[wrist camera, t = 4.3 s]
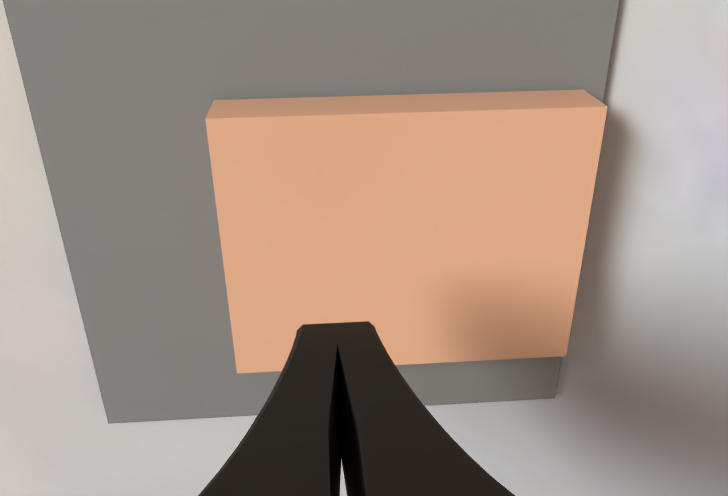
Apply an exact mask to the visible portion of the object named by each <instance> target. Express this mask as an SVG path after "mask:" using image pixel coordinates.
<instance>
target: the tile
mask: <svg viewBox="0 0 728 496" xmlns="http://www.w3.org/2000/svg"><path fill="white" fill-rule="evenodd" d="M607 108H608V106H606V105H605V104H603V103H602V102H601V101H599V100H598V99H596V98H595V97H593V96H592V95H591V94H589V93H588V92H586V91H585V90H584V89H582V90H547V91H512V92H477V93H442V94H407V95H372V96H337V97H302V98H267V99H232V100H214V101H213V103H212V105H211V107H210V110H209V112H208V114H207V116H206V118H205V121H206V129H207V137H208V145H209V153H210V161H211V169H212V177H213V185H214V193H215V201H216V209H217V217H218V225H219V233H220V241H221V249H222V257H223V265H224V273H225V281H226V289H227V297H228V305H229V313H230V321H231V329H232V338H233V346H234V354H235V362H236V370H237V373H256V372H274V371H282V370H283V368H284V366H285V363H286V361H287V359H288V356H289V354H290V351H291V349H292V346H293V343H294V340H295V337H296V332H297V329H299V328H300V327H301V326H302V325H303V324H323V323H343V322H363V321H369V322H370V323H371V324H372V325H374V326H375V329H376V331H377V334H378V336H379V338H380V340H381V342H382V344H383V346H384V347H385V349H386V351H387V353H388V354H389V356H390V358H391V359H392V361H393V363H394V364H395V365H407V364H425V363H444V362H463V361H482V360H501V359H520V358H539V357H558V356H566V355H567V349H568V343H569V337H570V331H571V325H572V319H573V313H574V306H575V300H576V294H577V288H578V282H579V276H580V270H581V264H582V258H583V252H584V246H585V240H586V234H587V228H588V222H589V216H590V210H591V204H592V198H593V192H594V186H595V180H596V174H597V168H598V162H599V156H600V150H601V144H602V138H603V132H604V126H605V120H606V114H607Z"/></svg>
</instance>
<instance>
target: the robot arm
mask: <svg viewBox="0 0 728 496" xmlns="http://www.w3.org/2000/svg"><path fill="white" fill-rule="evenodd" d="M341 459H342V465H343V471H344V478H345V484H346V491H347V496H515V495H514V494H512V493H511V492H510V491H509V490H507V489H506V488H505V487H504V486H502V485H501V484H500V483H499V482H497V481H496V480H495V479H494V478H493V477H491V476H490V475H489V474H488V473H487V472H486V471H485V470H484V469H483V468H482V467H481V466H480V465H478V464H477V463H476V462H475V461H474V460H473V459H472V458H471V457H470V456H469V455H468V454H467V453H466V452H465V451H464V450H463V449H462V448H461V447H460V446H459V445H458V444H457V443H456V442H455V441H454V440H453V439H452V438H451V437H450V436H449V434H448V433H447V432H446V431H445V430H444V429H443V428H442V427H441V425H440V424H439V423H438V422H437V421H436V420H435V418H434V417H433V416H432V415H431V414H430V412H429V411H428V410H427V409H426V407H425V406H424V405H423V404H422V402H421V401H420V400H419V398H418V397H417V396H416V395H415V393H414V392H413V390H412V389H411V388H410V386H409V385H408V383H407V382H406V380H405V379H404V378H403V376H402V375H401V373H400V372H399V370H398V369H397V367H396V366H395V364H394V363H393V361H392V359H391V358H390V356H389V354H388V353H387V351H386V349H385V347H384V346H383V344H382V342H381V340H380V338H379V336H378V334H377V331H376V329H375V326H374V325H372V324H371V323H370V322H369V321H363V322H343V323H323V324H303V325H302V326H301V327H300V328H299V329H297V332H296V337H295V340H294V343H293V346H292V349H291V351H290V354H289V356H288V359H287V361H286V363H285V366H284V368H283V370H282V372H281V374H280V376H279V378H278V380H277V382H276V384H275V386H274V388H273V390H272V392H271V394H270V396H269V397H268V399H267V401H266V403H265V404H264V406H263V408H262V409H261V411H260V412H259V414H258V416H257V417H256V419H255V421H254V422H253V424H252V426H251V427H250V429H249V430H248V432H247V433H246V435H245V436H244V438H243V439H242V441H241V442H240V444H239V445H238V447H237V448H236V449H235V451H234V452H233V453H232V455H231V456H230V457H229V459H228V460H227V461H226V463H225V464H224V465H223V467H222V468H221V469H220V470H219V472H218V473H217V474H216V475H215V476H214V478H213V479H212V480H211V481H210V482H209V484H208V485H207V486H206V487H205V488H204V490H203V491H202V492H201V493H200V494H199V495H198V496H339V495H340V474H341Z"/></svg>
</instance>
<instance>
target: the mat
mask: <svg viewBox="0 0 728 496" xmlns="http://www.w3.org/2000/svg"><path fill="white" fill-rule="evenodd" d="M3 4H4V8H5V12H6V16H7V20H8V24H9V28H10V32H11V36H12V40H13V44H14V48H15V52H16V56H17V60H18V64H19V68H20V72H21V76H22V80H23V84H24V88H25V92H26V96H27V100H28V104H29V108H30V112H31V116H32V120H33V124H34V128H35V132H36V136H37V140H38V144H39V148H40V152H41V156H42V160H43V164H44V168H45V172H46V176H47V180H48V184H49V188H50V192H51V196H52V200H53V204H54V208H55V212H56V216H57V220H58V224H59V228H60V232H61V236H62V240H63V244H64V248H65V252H66V256H67V260H68V264H69V268H70V272H71V276H72V280H73V284H74V288H75V292H76V296H77V300H78V304H79V308H80V312H81V316H82V320H83V324H84V328H85V332H86V336H87V340H88V344H89V348H90V352H91V356H92V360H93V364H94V368H95V372H96V376H97V380H98V384H99V388H100V392H101V396H102V400H103V404H104V408H105V412H106V416H107V420H108V423H126V422H143V421H161V420H179V419H196V418H214V417H232V416H249V415H258V414H259V412H260V411H261V409H262V408H263V406H264V404H265V403H266V401H267V399H268V397H269V396H270V394H271V392H272V390H273V388H274V386H275V384H276V382H277V380H278V378H279V376H280V374H281V372H282V371H274V372H256V373H237V370H236V362H235V354H234V346H233V338H232V329H231V321H230V313H229V305H228V297H227V289H226V281H225V273H224V265H223V257H222V249H221V241H220V233H219V225H218V217H217V209H216V201H215V193H214V185H213V177H212V169H211V161H210V153H209V145H208V137H207V129H206V121H205V118H206V116H207V114H208V112H209V110H210V107H211V105H212V103H213V101H214V100H232V99H267V98H302V97H337V96H372V95H407V94H442V93H477V92H512V91H547V90H582V89H584V90H585V91H586V92H588V93H589V94H591V95H592V96H593V97H595V98H596V99H598V100H599V101H601V102H602V103H603V98H604V92H605V86H606V80H607V73H608V67H609V61H610V55H611V49H612V43H613V36H614V30H615V24H616V18H617V12H618V6H619V0H3ZM561 357H562V356H558V357H539V358H520V359H501V360H482V361H463V362H444V363H425V364H407V365H395V366H396V367H397V369H398V370H399V372H400V373H401V375H402V376H403V378H404V379H405V380H406V382H407V383H408V385H409V386H410V388H411V389H412V390H413V392H414V393H415V395H416V396H417V397H418V398H419V400H420V401H421V402H422V404H423V405H424V406H425V405H443V404H461V403H478V402H496V401H513V400H531V399H549V398H555V395H556V388H557V382H558V376H559V370H560V364H561Z"/></svg>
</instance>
